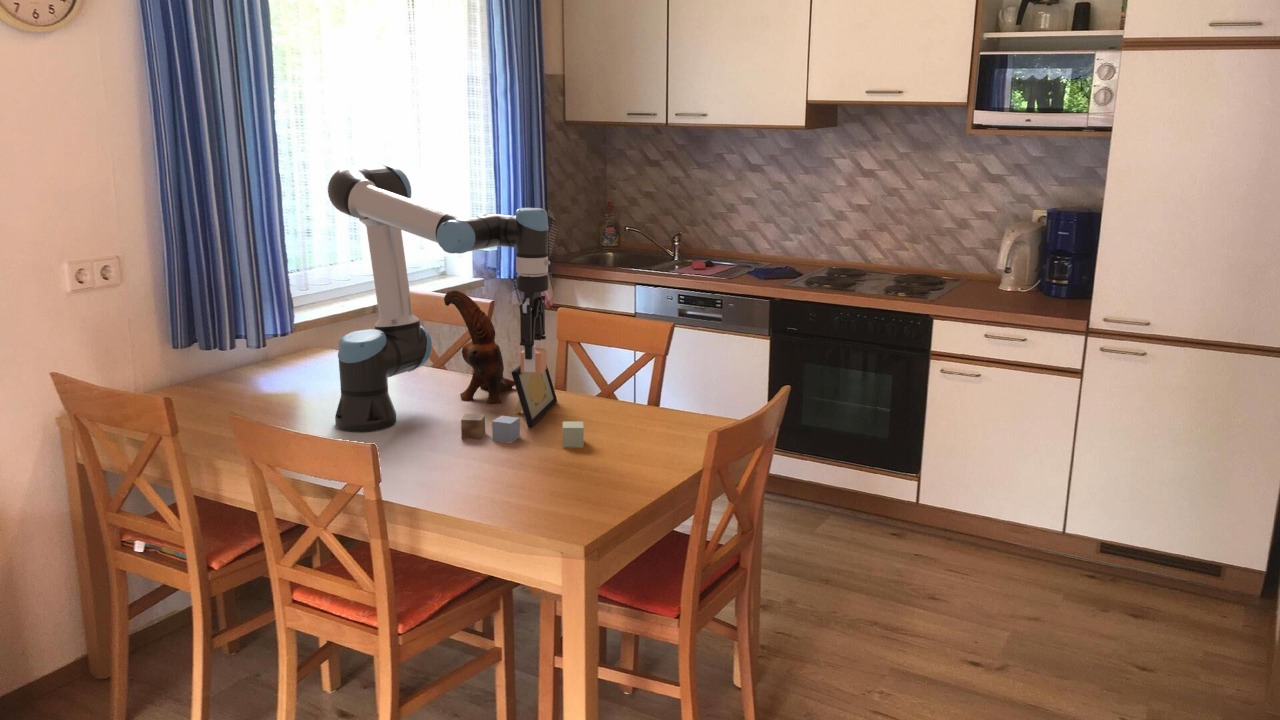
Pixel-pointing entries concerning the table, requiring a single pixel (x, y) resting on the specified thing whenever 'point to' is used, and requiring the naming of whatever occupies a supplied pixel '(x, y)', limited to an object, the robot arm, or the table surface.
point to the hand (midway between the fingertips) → (533, 368)
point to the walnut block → (473, 426)
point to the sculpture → (480, 350)
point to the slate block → (506, 429)
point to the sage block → (573, 434)
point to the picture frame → (534, 394)
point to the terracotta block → (540, 361)
